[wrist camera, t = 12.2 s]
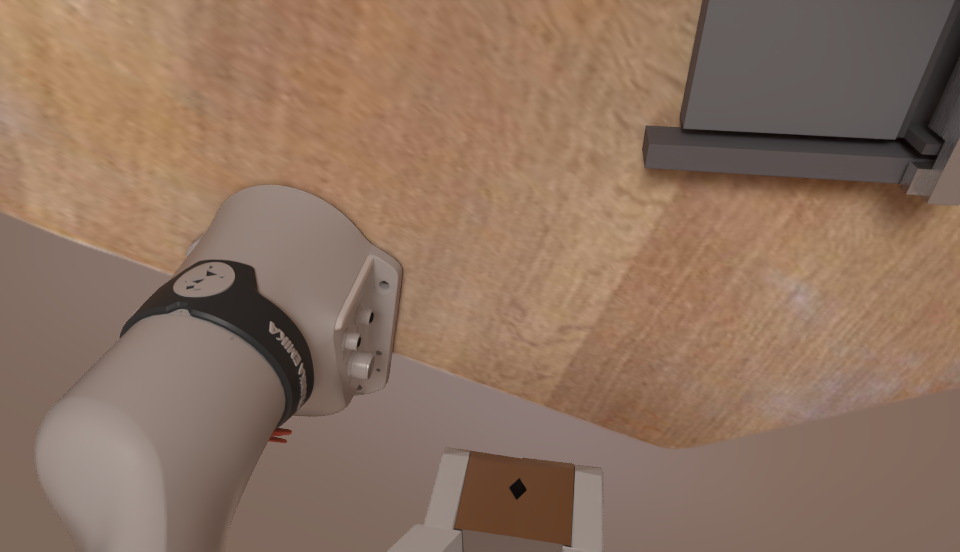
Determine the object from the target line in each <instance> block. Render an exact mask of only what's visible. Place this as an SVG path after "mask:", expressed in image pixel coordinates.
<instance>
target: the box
mask: <svg viewBox="0 0 960 552" xmlns="http://www.w3.org/2000/svg"><path fill="white" fill-rule="evenodd" d="M959 57H960V0H955V1H954V3H953V6H952V8H951V10H950V13H949V15H948V17H947V20H946V22H945V24H944V27H943V29H942V31H941V34H940V36H939V38H938V41H937V43H936V46H935V48H934V50H933V53H932V55H931V57H930V60H929V62H928V64H927V67H926V69H925V71H924V74H923V76H922V78H921V81H920V83H919V85H918V88H917V90H916V92H915V95H914V97H913V99H912V102H911V104H910V106H909V109H908V111H907V113H906V116H905V118H904V121H903V123H902V125H901V128H900V130H899V132H898V135H897V137H901V138H905V139H906V140H907V141H908V142H909V143H910V144H911V145H912V146H913V147H914V148H915V149H916V150H917V151H919V152H920V153H921V154H926V155H939V153H940V151H941V149H942V147H943V145H944V143H945V140H944V139H943V138H942V137H940V136H939V135H938V134H937V133H936V132H934V131H933V130H932V129H931V128H930V127H928V125H929V123H930V121H931V119H932V117H933V114H934V112H935V110H936V108H937V106H938V103H939V101H940V99H941V97H942V95H943V92H944V90H945V88H946V86H947V84H948V81H949V79H950V77H951V75H952V73H953V70H954V68H955V66H956V64H957V62H958V59H959Z"/></svg>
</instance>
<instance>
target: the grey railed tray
mask: <svg viewBox="0 0 960 552" xmlns="http://www.w3.org/2000/svg"><path fill="white" fill-rule="evenodd" d="M954 1H955V0H703V1H702V6H701V11H700V16H699V21H698V27H697V32H696V37H695V42H694V47H693V52H692V57H691V62H690V67H689V72H688V78H687V83H686V88H685V93H684V98H683V103H682V108H681V113H680V119H681V123H682V126H683V128H680V127H660V126H646V129H645V135H644V142H643V148H642V150H643V157H644V164H645V168H654V169H670V170H686V171H702V172H718V173H734V174H751V175H767V176H783V177H799V178H815V179H831V180H848V181H864V182H880V183H896V184H900V183H901V181H902V179H903V176H904V174H905V172H906V170H907V168H908V165H909V163H910V161H913V162H931V163H935V162H936V159H937V157H938V155H926V154H921V153H920V152H919V151H917V150H916V149H915V148H914V147H913V146H912V145H911V144H910V143H909V142H908V141H907V140H906V139H896V137H897V135H898V132H899V130H900V128H901V125H902V123H903V121H904V118H905V116H906V113H907V111H908V109H909V106H910V104H911V102H912V99H913V97H914V95H915V92H916V90H917V88H918V85H919V83H920V81H921V78H922V76H923V74H924V71H925V69H926V67H927V64H928V62H929V60H930V57H931V55H932V53H933V50H934V48H935V46H936V43H937V41H938V38H939V36H940V34H941V31H942V29H943V27H944V24H945V22H946V20H947V17H948V15H949V13H950V10H951V8H952V6H953V3H954Z"/></svg>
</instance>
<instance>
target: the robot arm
mask: <svg viewBox="0 0 960 552" xmlns="http://www.w3.org/2000/svg"><path fill="white" fill-rule="evenodd" d="M186 256H187V258H186V259H185V261H184V262H183V263H182V264H181V266H180V267H179V268H178V270H177V271H176V272H175V274H174V275H173V276H172V277H171V279H170V280H169V281H168V282H167V283H165V284H164V285H163V286H161V287H160V288H159V289H158V290H157V291H156V292H155V293H154V294H153V295H152V296H151V297H150V298H149V299H148V300H147V301H146V302H145V303H144V304H143V305H142V306H141V307H139V308H138V309H137V310H136V311H135V312H134V313H133V315H132V316H131V318H130V319H129V320H128V321H127V322H126V324H125V325H124V327H123V329H122V331H121V334H120V339H119V340H118V341H117V342H116V343H115V344H114V345H113V346H112V347H111V348H110V349H109V350H108V351H107V352H106V353H105V354H104V355H103V356H102V357H101V358H100V359H99V360H98V361H97V362H96V363H95V364H94V365H93V366H92V367H91V368H90V369H89V370H88V371H87V372H86V373H85V374H84V375H83V376H82V377H81V378H80V379H79V380H78V381H77V382H76V383H75V384H74V385H73V386H72V387H71V388H70V389H69V390H68V391H67V392H66V393H65V394H64V395H63V396H62V397H61V398H60V399H59V400H58V401H57V402H56V403H55V404H54V405H53V406H52V408H51V409H50V410H49V412H48V413H47V415H46V416H45V418H44V419H43V422H42V424H41V426H40V428H39V430H38V433H37V437H36V442H35V449H34V457H35V467H36V472H37V476H38V479H39V482H40V485H41V487H42V489H43V492H44V494H45V496H46V498H47V500H48V502H49V503H50V505H51V507H52V508H53V510H54V511H55V513H56V514H57V516H58V517H59V519H60V520H61V522H62V523H63V525H64V526H65V527H66V529H67V531H68V533H69V534H70V536H71V539H72V541H73V544H74V547H75V550H76V552H225V547H226V541H227V537H228V532H229V528H230V525H231V522H232V518H233V515H234V513H235V510H236V508H237V505H238V503H239V501H240V498H241V496H242V494H243V492H244V489H245V487H246V485H247V483H248V481H249V478H250V476H251V474H252V472H253V470H254V468H255V466H256V464H257V462H258V460H259V458H260V456H261V454H262V452H263V450H264V448H265V446H266V444H267V442H268V441H272V442H281V443H286V442H287V440H285V439H282V438H277V437H273V436H281V435H289V434H291V433H292V431H291V430H288V429H281V428H278V427H280V426H281V425H282V424H283V423H285V422H286V421H287V420H288V419H289V418H290V417H291V416H292V415H294V416H325V415H330V414H334V413H337V412H339V411H341V410H343V409H344V408H346V407H347V405H348V404H349V403H350V401H351V399H352V398H353V396H354V395H364V394H369V393H372V392H376V391H378V390H381V389H383V388H384V387H385V385H386V383H387V382H388V378H389V373H390V366H391V358H392V350H393V343H394V335H395V327H396V320H397V312H398V305H399V297H400V289H401V282H402V274H403V271H402V267H401V265H400V264H399V262H398V261H397V260H395V259H394V258H393V257H391V256H390V255H388V254H387V253H385V252H384V251H382V250H380V249H379V248H377V247H375V246H374V245H372V244H371V243H370V242H369V241H368V240H367V239H366V238H365V237H364V236H363V235H362V233H361V232H360V231H359V230H358V229H357V227H356V226H355V225H354V224H353V223H352V222H351V221H350V220H349V219H348V218H347V217H346V216H345V215H344V214H342V213H341V212H340V211H339V210H337V209H336V208H335V207H333V206H332V205H330V204H329V203H327V202H326V201H324V200H322V199H320V198H318V197H316V196H314V195H312V194H310V193H307V192H305V191H302V190H299V189H295V188H291V187H286V186H279V185H260V186H253V187H249V188H246V189H243V190H241V191H239V192H237V193H235V194H233V195H232V196H230V197H229V198H228V199H227V200H226V201H225V202H224V203H223V204H222V205H221V207H220V208H219V210H218V211H217V213H216V215H215V217H214V219H213V221H212V223H211V225H210V226H209V228H208V229H207V231H206V232H205V233H204V234H202V235H201V236H199V237H198V238H197V239H195V240H194V241H193V243H192V244H191V245H190V246H189V248H188V249H187V251H186ZM383 281H386V282H387V283H388V284H385V283H383ZM603 531H604V529H603V472H602V469H601V468H598V467H589V466H580V465H575V466H574V464H572V463H571V464H570V463H563V462H554V461H546V460H537V459H528V458H522V459H521V458H514V457H508V456H501V455H494V454H488V453H482V452H475V451H469V450H462V449H454V448H447V447H446V448H445V450H444V452H443V454H442V457H441V460H440V465H439V468H438V472H437V476H436V479H435V483H434V487H433V491H432V495H431V498H430V502H429V506H428V509H427V513H426V517H425V520H424V524H423V525H422V524H415V525H414V526H413V527H412V528H411V529H410V530H409V531H408V532H407V533H406V534H405V535H403V537H401V538H400V539H399V540H398V541H397V542H396V543H395V544H394V545H393V546H392V547H391V548H390V549H389V550H388V551H387V552H604V537H603V536H604V535H603V534H604V532H603Z"/></svg>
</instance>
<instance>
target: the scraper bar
mask: <svg viewBox="0 0 960 552" xmlns="http://www.w3.org/2000/svg"><path fill="white" fill-rule="evenodd" d="M928 127H930V128H931V129H932V130H933V131H934V132H936V133H937V134H938V135H939V136H940V137H942V138H943V139H944V140H945V143H944V145H943V147H942V149H941V151H940V153H939V155H938V157H937V159H936V162H935V163H931V162H913V161H910V163H909V165H908V168H907V170H906V172H905V174H904V176H903V179H902V181H901V183H900V185H899V187H900V188H901V189H902V191H903V192H904V193H905V194H907V195H920V197H921V198H922V199H923V200H924V201H925V202H926V203H927V204H940V205H956V206H959V204H960V57H959V59H958V62H957V64H956V66H955V68H954V70H953V73H952V75H951V77H950V79H949V81H948V84H947V86H946V88H945V90H944V92H943V95H942V97H941V99H940V101H939V103H938V106H937V108H936V110H935V112H934V114H933V117H932V119H931V121H930V123H929V125H928Z"/></svg>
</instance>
